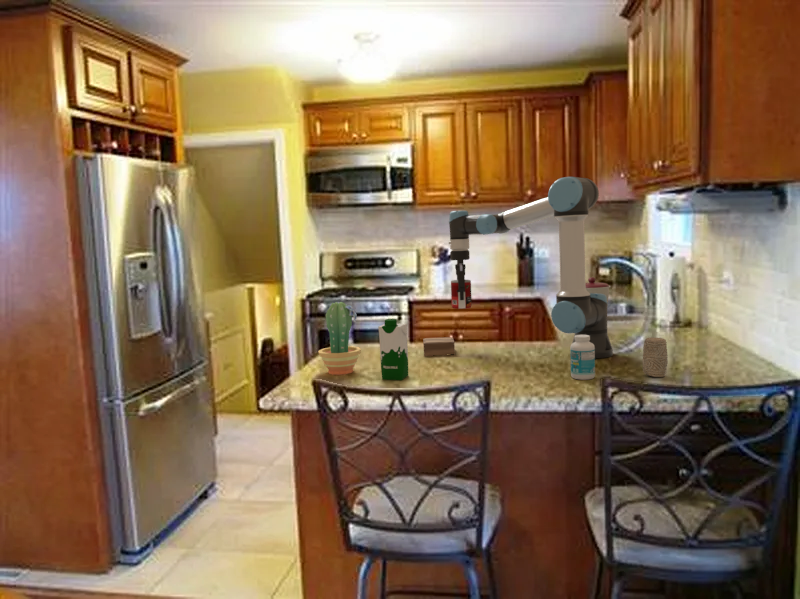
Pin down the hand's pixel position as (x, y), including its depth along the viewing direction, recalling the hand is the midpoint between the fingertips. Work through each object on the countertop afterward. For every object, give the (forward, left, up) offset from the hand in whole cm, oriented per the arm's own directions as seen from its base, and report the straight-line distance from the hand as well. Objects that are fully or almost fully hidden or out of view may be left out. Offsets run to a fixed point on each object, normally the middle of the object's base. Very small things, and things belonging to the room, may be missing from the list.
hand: (461, 306), depth 266 cm
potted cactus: (-32, +46, -18) cm, 59 cm away
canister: (+75, -71, -18) cm, 105 cm away
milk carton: (-45, +26, -18) cm, 55 cm away
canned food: (0, 0, 0) cm, 0 cm away
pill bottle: (-56, -34, -18) cm, 68 cm away
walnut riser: (-3, +10, -18) cm, 21 cm away
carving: (-58, -56, -18) cm, 83 cm away
